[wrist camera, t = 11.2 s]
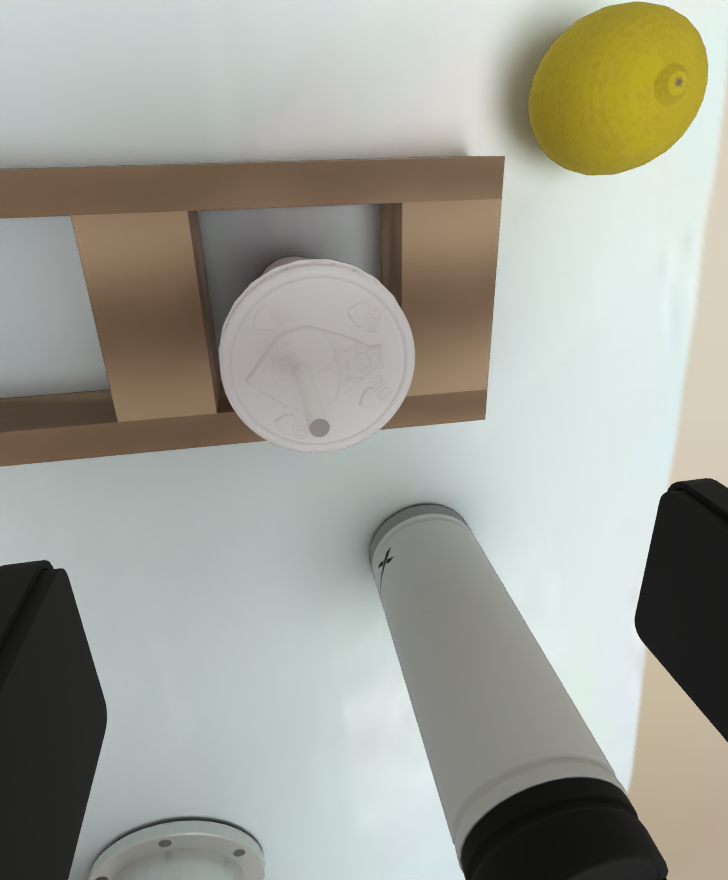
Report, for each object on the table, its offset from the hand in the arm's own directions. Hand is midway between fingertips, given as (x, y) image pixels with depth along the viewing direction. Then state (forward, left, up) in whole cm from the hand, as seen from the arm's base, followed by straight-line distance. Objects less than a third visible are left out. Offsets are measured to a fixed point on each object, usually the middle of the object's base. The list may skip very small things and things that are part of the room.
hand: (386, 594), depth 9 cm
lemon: (+8, -12, -21) cm, 25 cm away
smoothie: (0, 0, -21) cm, 21 cm away
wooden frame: (+1, +6, -20) cm, 21 cm away
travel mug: (-15, -6, -21) cm, 26 cm away
